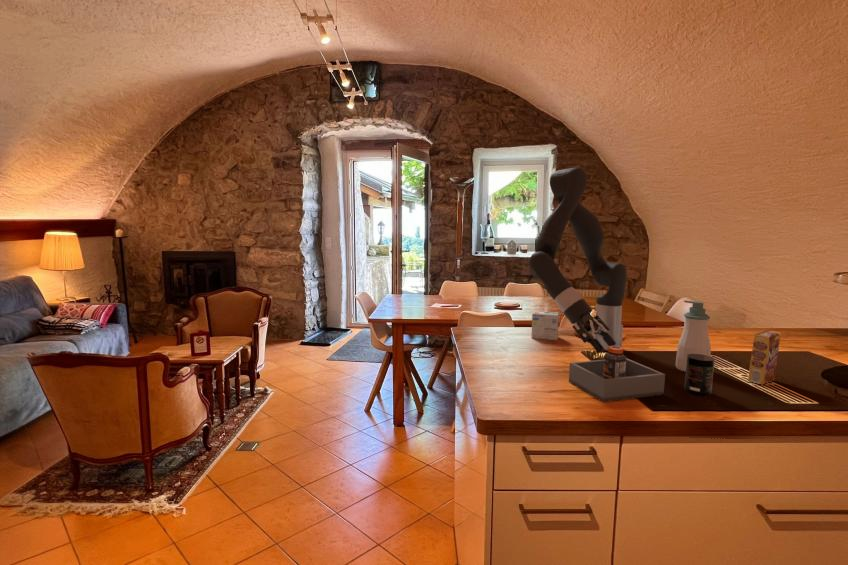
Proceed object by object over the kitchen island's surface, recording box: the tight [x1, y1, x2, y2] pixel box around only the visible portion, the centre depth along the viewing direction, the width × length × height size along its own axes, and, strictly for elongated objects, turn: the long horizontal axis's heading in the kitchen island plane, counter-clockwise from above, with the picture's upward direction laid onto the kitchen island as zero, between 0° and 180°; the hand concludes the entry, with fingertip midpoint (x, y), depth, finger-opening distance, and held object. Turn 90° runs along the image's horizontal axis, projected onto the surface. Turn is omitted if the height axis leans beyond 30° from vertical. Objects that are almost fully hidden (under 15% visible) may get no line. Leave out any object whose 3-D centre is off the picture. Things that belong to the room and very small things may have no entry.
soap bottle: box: [675, 300, 712, 373], centre depth 146 cm, size 10×10×23 cm
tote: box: [568, 357, 666, 403], centre depth 130 cm, size 20×16×6 cm
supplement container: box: [683, 354, 716, 397], centre depth 127 cm, size 7×7×10 cm
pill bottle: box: [603, 346, 627, 379], centre depth 130 cm, size 6×6×11 cm
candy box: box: [747, 330, 782, 386], centre depth 136 cm, size 9×4×15 cm, turn 123°
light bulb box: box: [530, 310, 560, 341], centre depth 188 cm, size 11×7×11 cm, turn 71°
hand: (607, 348), depth 131 cm, fingers open, 8 cm apart
